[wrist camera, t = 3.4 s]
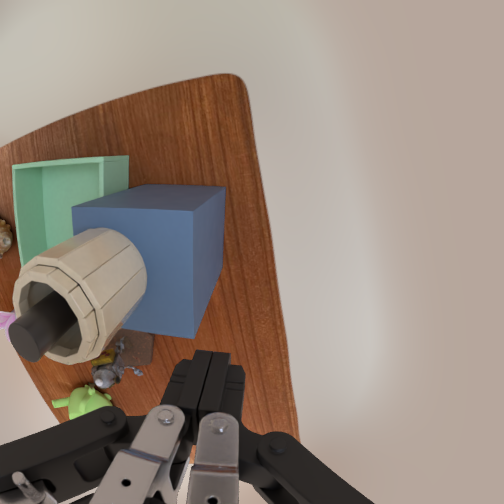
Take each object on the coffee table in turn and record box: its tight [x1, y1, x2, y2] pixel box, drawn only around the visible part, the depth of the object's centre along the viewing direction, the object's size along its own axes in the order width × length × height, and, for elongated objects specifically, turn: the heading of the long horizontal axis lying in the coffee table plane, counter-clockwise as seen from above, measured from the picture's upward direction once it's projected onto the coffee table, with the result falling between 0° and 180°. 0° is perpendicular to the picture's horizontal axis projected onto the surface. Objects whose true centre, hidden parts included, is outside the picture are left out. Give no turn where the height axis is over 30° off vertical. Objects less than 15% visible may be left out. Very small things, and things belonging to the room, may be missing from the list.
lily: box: [0, 309, 17, 342], centre depth 39 cm, size 12×12×10 cm
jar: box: [12, 228, 147, 365], centre depth 18 cm, size 7×7×8 cm
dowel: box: [8, 278, 93, 362], centre depth 17 cm, size 2×2×10 cm
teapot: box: [52, 385, 113, 420], centre depth 44 cm, size 11×12×8 cm
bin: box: [12, 155, 129, 267], centre depth 34 cm, size 17×15×6 cm
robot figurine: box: [88, 328, 154, 390], centre depth 37 cm, size 11×9×12 cm
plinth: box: [71, 184, 226, 339], centre depth 29 cm, size 10×10×16 cm
